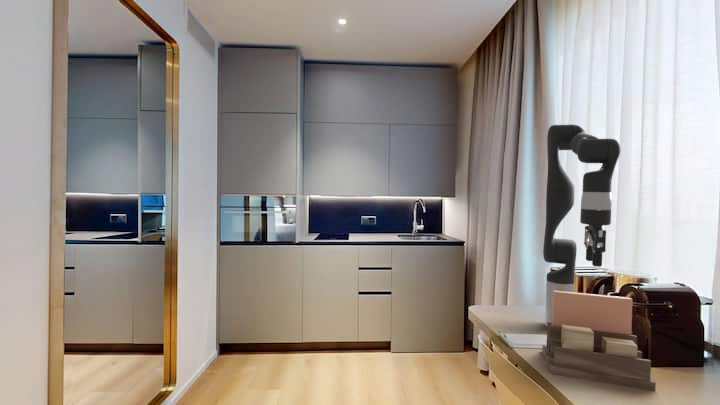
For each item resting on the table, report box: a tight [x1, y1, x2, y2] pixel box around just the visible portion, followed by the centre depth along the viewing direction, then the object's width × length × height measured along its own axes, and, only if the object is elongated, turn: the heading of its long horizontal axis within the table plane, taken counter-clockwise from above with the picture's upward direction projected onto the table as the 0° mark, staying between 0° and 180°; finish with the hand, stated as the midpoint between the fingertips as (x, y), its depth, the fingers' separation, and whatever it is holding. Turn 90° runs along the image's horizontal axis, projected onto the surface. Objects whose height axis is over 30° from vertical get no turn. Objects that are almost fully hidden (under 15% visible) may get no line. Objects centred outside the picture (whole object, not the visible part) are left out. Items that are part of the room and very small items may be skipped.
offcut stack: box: [561, 325, 638, 358], centre depth 103 cm, size 4×17×10 cm, turn 71°
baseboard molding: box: [498, 332, 547, 350], centre depth 125 cm, size 31×3×12 cm
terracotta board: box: [552, 290, 634, 335], centre depth 111 cm, size 2×20×18 cm, turn 71°
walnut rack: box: [541, 321, 657, 391], centre depth 107 cm, size 16×24×10 cm, turn 71°
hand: (593, 263), depth 110 cm, fingers open, 8 cm apart
